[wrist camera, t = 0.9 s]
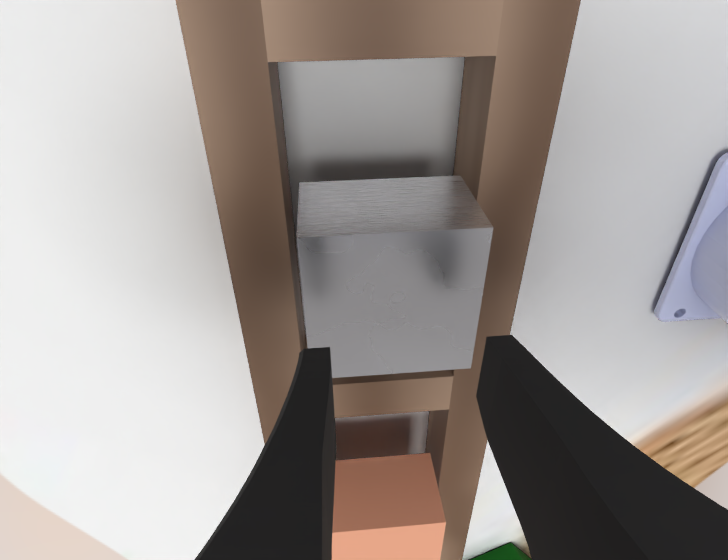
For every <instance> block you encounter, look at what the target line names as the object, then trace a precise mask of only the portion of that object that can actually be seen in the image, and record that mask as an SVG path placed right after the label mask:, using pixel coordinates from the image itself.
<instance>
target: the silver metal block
mask: <svg viewBox="0 0 728 560" xmlns="http://www.w3.org/2000/svg"><path fill="white" fill-rule="evenodd" d="M492 233H493V226H492V225H491V223H490V221H489V220H488V218H487V217H486V215H485V213H484V212H483V210H482V209H481V207H480V206H479V204H478V202H477V201H476V199H475V198H474V196H473V194H472V193H471V191H470V190H469V188H468V187H467V185H466V183H465V182H464V180H463V179H462V177H461V176H460V175H456V176H434V177H411V178H388V179H366V180H343V181H320V182H299V199H298V217H297V235H296V239H297V249H298V259H299V269H300V278H301V288H302V298H303V308H304V317H305V327H306V337H307V347H308V348H322V347H330V352H331V367H332V378H340V377H354V376H369V375H383V374H397V373H411V372H425V371H440V370H454V369H468V368H471V364H472V358H473V352H474V346H475V339H476V333H477V327H478V321H479V314H480V308H481V302H482V296H483V290H484V283H485V277H486V271H487V265H488V258H489V252H490V246H491V240H492Z"/></svg>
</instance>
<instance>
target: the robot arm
mask: <svg viewBox="0 0 728 560" xmlns="http://www.w3.org/2000/svg"><path fill="white" fill-rule="evenodd" d="M654 314H655V316H656V317H657V318H658V319H659V320H660V321H664V322H666V321H682V320H697V319H712V318H722V319H723V320H724V321H725V322H726V323H727V324H728V152H727V153H725V154H724V155H722V156H721V157H720V158H719V159H718V161H717V163H716V165H715V167H714V169H713V172H712V174H711V176H710V179H709V181H708V184H707V186H706V188H705V191H704V193H703V196H702V198H701V200H700V203H699V205H698V207H697V210H696V212H695V215H694V217H693V219H692V222H691V224H690V226H689V229H688V231H687V234H686V236H685V238H684V241H683V243H682V245H681V248H680V250H679V253H678V255H677V257H676V260H675V262H674V265H673V267H672V269H671V272H670V274H669V276H668V279H667V281H666V284H665V286H664V288H663V291H662V293H661V295H660V298H659V300H658V303H657V305H656V307H655V310H654ZM476 398H477V402H478V406H479V410H480V414H481V418H482V422H483V426H484V429H485V433H486V436H487V439H488V442H489V445H490V447H491V450H492V452H493V455H494V458H495V460H496V463H497V465H498V468H499V470H500V473H501V475H502V478H503V481H504V483H505V486H506V488H507V491H508V493H509V496H510V498H511V501H512V503H513V506H514V509H515V511H516V514H517V516H518V519H519V521H520V524H521V527H522V530H523V532H524V535H525V538H526V541H527V544H528V547H529V551H530V554H531V558H532V560H728V510H727V509H726V508H724V507H722V506H720V505H719V504H717V503H716V502H714V501H713V500H711V499H710V498H708V497H706V496H705V495H703V494H702V493H700V492H699V491H697V490H696V489H694V488H693V487H691V486H690V485H688V484H687V483H685V482H683V481H682V480H681V479H679V478H678V477H676V476H675V475H673V474H672V473H670V472H669V471H667V470H666V469H665V468H663V467H662V466H660V465H659V464H658V463H656V462H655V461H654V460H652V459H651V458H650V457H648V456H647V455H645V454H644V453H643V452H641V451H640V450H639V449H637V448H636V447H635V446H633V445H632V444H631V443H629V442H628V441H627V440H626V439H624V438H623V437H622V436H621V435H619V434H618V433H617V432H616V431H614V430H613V429H612V428H611V427H610V426H608V425H607V424H606V423H605V422H604V421H602V420H601V419H600V418H599V417H598V416H596V415H595V414H594V413H593V412H592V411H591V410H590V409H588V408H587V407H586V406H585V405H584V404H583V403H582V402H581V401H580V400H579V399H577V398H576V397H575V396H574V395H573V394H572V393H571V392H570V391H569V390H568V389H567V388H566V387H564V386H563V385H562V384H561V383H560V382H559V381H558V380H557V379H556V378H555V377H554V376H553V375H552V374H551V373H550V372H549V371H548V370H547V369H546V368H545V367H544V366H543V365H542V364H541V363H540V362H539V361H538V360H537V359H536V358H535V357H534V356H533V355H532V354H531V353H530V352H529V351H528V350H527V349H526V348H525V347H524V346H523V345H521V344H520V343H519V342H518V341H517V340H516V339H515V338H514V337H513V336H512V335H503V336H488V337H486V343H485V348H484V354H483V359H482V365H481V371H480V376H479V382H478V388H477V393H476ZM335 463H336V434H335V414H334V397H333V382H332V367H331V352H330V347H322V348H307V349H303V350H302V351H301V352H300V353H299V358H298V363H297V366H296V370H295V374H294V377H293V380H292V383H291V386H290V388H289V391H288V394H287V397H286V399H285V402H284V404H283V406H282V409H281V411H280V414H279V416H278V418H277V421H276V423H275V425H274V428H273V430H272V432H271V434H270V436H269V438H268V440H267V442H266V444H265V446H264V448H263V450H262V452H261V454H260V456H259V458H258V460H257V462H256V464H255V466H254V468H253V469H252V471H251V473H250V475H249V477H248V478H247V480H246V482H245V484H244V485H243V487H242V489H241V490H240V492H239V494H238V495H237V497H236V499H235V500H234V502H233V504H232V505H231V507H230V508H229V510H228V511H227V513H226V515H225V516H224V518H223V519H222V521H221V522H220V524H219V525H218V527H217V528H216V530H215V532H214V533H213V534H212V536H211V537H210V539H209V540H208V542H207V543H206V545H205V546H204V548H203V549H202V550H201V552H200V553H199V554H198V556H197V557H196V559H195V560H332V529H333V507H334V485H335Z"/></svg>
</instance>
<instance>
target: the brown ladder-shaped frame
mask: <svg viewBox="0 0 728 560" xmlns="http://www.w3.org/2000/svg"><path fill="white" fill-rule="evenodd" d="M580 1H581V0H176V5H177V10H178V15H179V20H180V25H181V30H182V34H183V39H184V44H185V49H186V54H187V59H188V64H189V69H190V74H191V79H192V84H193V89H194V94H195V99H196V104H197V109H198V114H199V119H200V124H201V129H202V134H203V139H204V144H205V149H206V154H207V159H208V164H209V169H210V174H211V179H212V184H213V189H214V194H215V199H216V204H217V209H218V214H219V219H220V224H221V229H222V234H223V239H224V244H225V249H226V254H227V259H228V264H229V268H230V273H231V278H232V283H233V288H234V293H235V298H236V303H237V308H238V313H239V318H240V323H241V328H242V333H243V338H244V343H245V348H246V353H247V358H248V363H249V368H250V373H251V378H252V383H253V388H254V393H255V398H256V403H257V408H258V413H259V418H260V423H261V428H262V433H263V438H264V443H265V444H266V442H267V440H268V438H269V436H270V434H271V432H272V430H273V428H274V425H275V423H276V421H277V418H278V416H279V414H280V411H281V409H282V406H283V404H284V402H285V399H286V397H287V394H288V391H289V388H290V386H291V383H292V380H293V377H294V374H295V370H296V366H297V363H298V358H299V353H300V352H301V351H302V350H303V349H307V348H308V347H307V337H306V334H305V325H304V315H303V306H302V296H301V286H300V277H299V267H298V257H297V248H296V238H295V228H294V219H293V209H292V199H291V190H290V180H289V171H288V161H287V151H286V142H285V132H284V122H283V113H282V103H281V93H280V84H279V74H278V65H277V62H293V61H329V60H364V59H400V58H436V57H465V62H464V72H463V82H462V92H461V102H460V112H459V122H458V132H457V142H456V152H455V162H454V172H453V176H456V175H460V176H461V177H462V179H463V180H464V182H465V183H466V185H467V187H468V188H469V190H470V191H471V193H472V194H473V196H474V198H475V199H476V201H477V202H478V204H479V206H480V207H481V209H482V210H483V212H484V213H485V215H486V217H487V218H488V220H489V221H490V223H491V225H492V226H493V233H492V240H491V246H490V252H489V258H488V265H487V271H486V277H485V283H484V290H483V296H482V302H481V308H480V314H479V321H478V327H477V333H476V339H475V346H474V352H473V358H472V364H471V368H468V369H454V370H440V371H425V372H411V373H397V374H383V375H369V376H354V377H340V378H332V382H333V397H334V414H335V418H342V417H355V416H368V415H381V414H395V413H408V412H421V411H430V412H429V422H428V432H427V442H426V452H425V453H430V454H431V459H432V463H433V468H434V472H435V476H436V481H437V485H438V489H439V494H440V498H441V502H442V507H443V511H444V515H445V520H446V526H445V532H444V539H443V545H442V551H441V557H440V560H462V557H463V552H464V548H465V543H466V538H467V533H468V529H469V524H470V519H471V515H472V510H473V505H474V500H475V496H476V491H477V486H478V482H479V477H480V472H481V467H482V463H483V458H484V453H485V449H486V444H487V436H486V433H485V429H484V426H483V422H482V418H481V414H480V410H479V406H478V402H477V398H476V393H477V388H478V382H479V376H480V371H481V365H482V359H483V354H484V348H485V343H486V337H488V336H503V335H510V331H511V326H512V322H513V317H514V312H515V307H516V303H517V298H518V293H519V289H520V284H521V279H522V274H523V270H524V265H525V260H526V256H527V251H528V246H529V241H530V237H531V232H532V227H533V223H534V218H535V213H536V208H537V204H538V199H539V194H540V190H541V185H542V180H543V176H544V171H545V166H546V161H547V157H548V152H549V147H550V143H551V138H552V133H553V128H554V124H555V119H556V114H557V110H558V105H559V100H560V95H561V91H562V86H563V81H564V77H565V72H566V67H567V63H568V58H569V53H570V48H571V44H572V39H573V34H574V30H575V25H576V20H577V15H578V11H579V6H580Z"/></svg>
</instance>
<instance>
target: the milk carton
mask: <svg viewBox="0 0 728 560" xmlns="http://www.w3.org/2000/svg"><path fill="white" fill-rule="evenodd" d="M471 560H532V559H530V558H529V557H528V556H527V555H526V554H524V553H523V552H522V551H521V550H519V549H518V548H517V547H516V546H515V545H513V544H512V543H509V544H506V545H504V546H501V547H499V548H497V549H494V550H492V551H490V552H487V553H485V554H483V555H480V556H478V557H476V558H473V559H471Z"/></svg>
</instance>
